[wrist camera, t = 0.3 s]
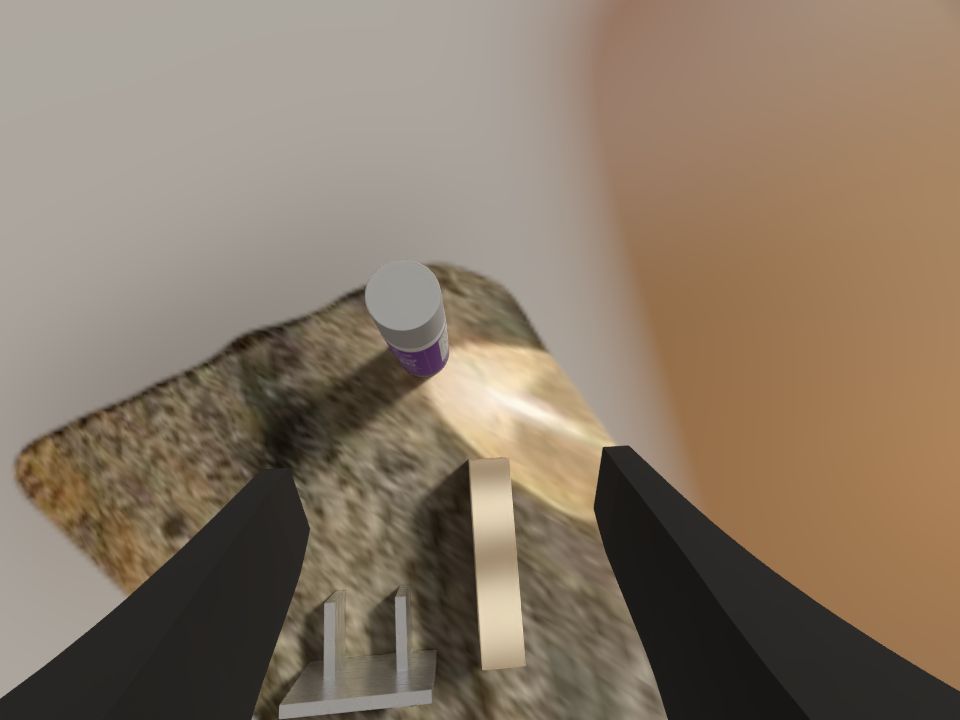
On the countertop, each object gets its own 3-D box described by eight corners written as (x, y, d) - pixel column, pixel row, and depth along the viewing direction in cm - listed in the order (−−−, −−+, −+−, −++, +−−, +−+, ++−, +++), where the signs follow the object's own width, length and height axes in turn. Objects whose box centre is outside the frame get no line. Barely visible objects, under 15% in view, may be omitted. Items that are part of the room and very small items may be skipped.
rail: (514, 630, 35) (525, 665, 29) (478, 633, 35) (482, 670, 29) (501, 457, 38) (509, 458, 32) (468, 459, 38) (469, 461, 32)
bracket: (437, 667, 34) (432, 711, 28) (310, 679, 33) (278, 727, 28) (433, 582, 35) (428, 608, 30) (311, 592, 35) (281, 621, 29)
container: (396, 375, 39) (358, 330, 24) (400, 327, 40) (366, 255, 25) (447, 378, 39) (440, 335, 24) (450, 329, 40) (445, 259, 25)
